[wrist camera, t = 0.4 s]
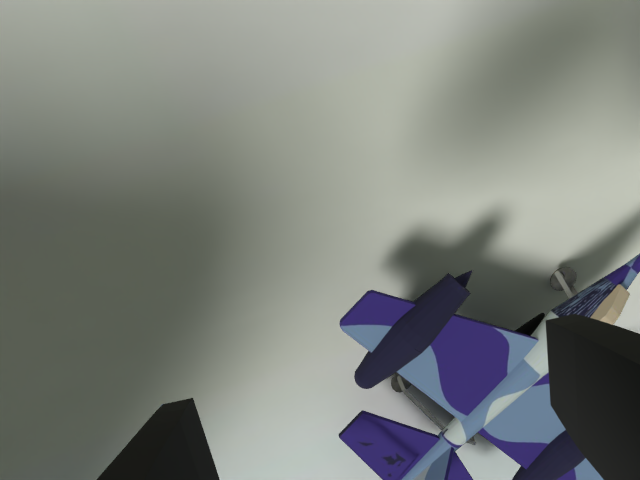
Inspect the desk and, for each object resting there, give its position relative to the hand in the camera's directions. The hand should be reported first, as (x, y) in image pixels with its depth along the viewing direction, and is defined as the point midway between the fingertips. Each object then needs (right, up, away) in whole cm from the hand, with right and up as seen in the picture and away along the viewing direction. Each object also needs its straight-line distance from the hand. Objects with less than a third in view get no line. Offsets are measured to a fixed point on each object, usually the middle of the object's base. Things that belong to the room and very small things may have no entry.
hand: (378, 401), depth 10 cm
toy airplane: (+6, -1, +11) cm, 13 cm away
